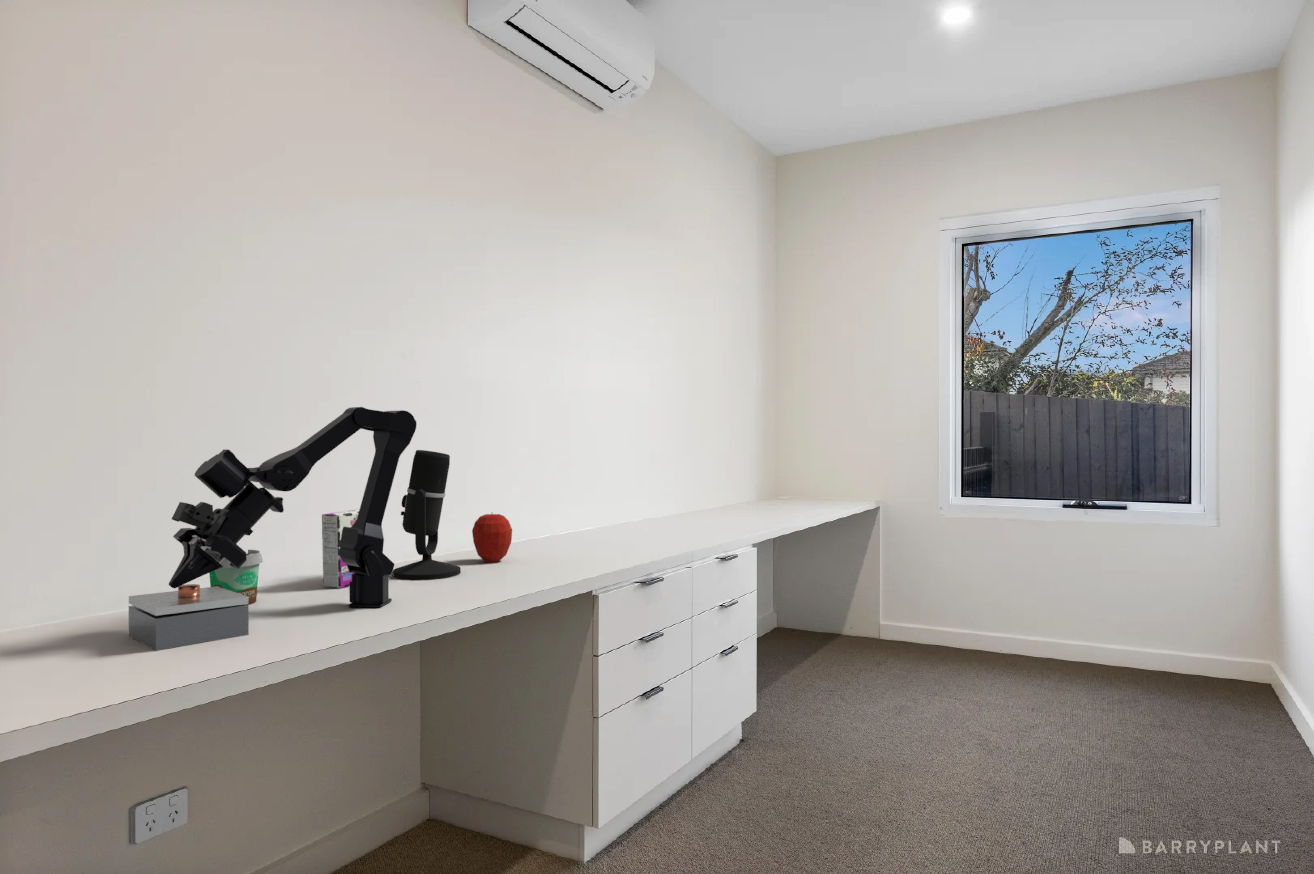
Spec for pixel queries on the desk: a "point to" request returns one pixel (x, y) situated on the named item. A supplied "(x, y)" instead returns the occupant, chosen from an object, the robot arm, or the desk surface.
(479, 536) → the apple
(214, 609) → the grey storage bin
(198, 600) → the lid
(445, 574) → the microphone
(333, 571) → the candy bar box
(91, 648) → the desk surface
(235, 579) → the food container
